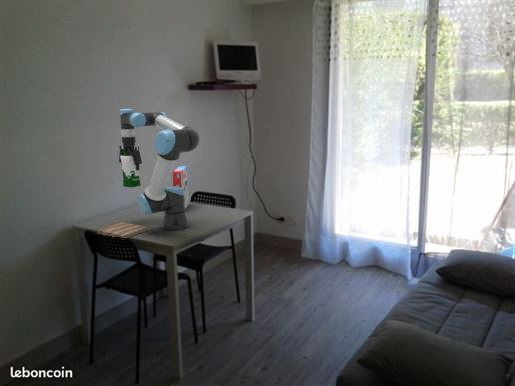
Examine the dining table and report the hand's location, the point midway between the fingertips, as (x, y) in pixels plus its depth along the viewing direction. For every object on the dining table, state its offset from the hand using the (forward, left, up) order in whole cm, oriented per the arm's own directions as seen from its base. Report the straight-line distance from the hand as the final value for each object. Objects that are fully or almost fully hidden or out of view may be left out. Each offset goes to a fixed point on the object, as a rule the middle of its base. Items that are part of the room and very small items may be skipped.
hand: (131, 175), depth 261 cm
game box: (-3, -39, -29) cm, 49 cm away
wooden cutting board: (-9, +17, -29) cm, 34 cm away
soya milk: (0, 0, -7) cm, 7 cm away
